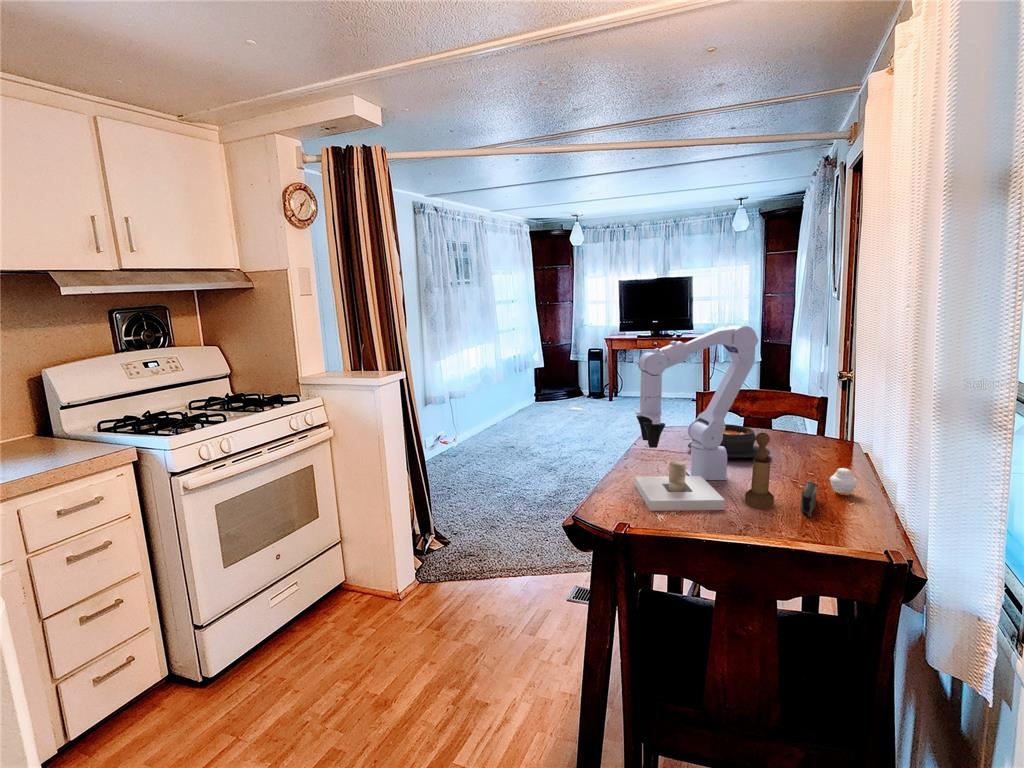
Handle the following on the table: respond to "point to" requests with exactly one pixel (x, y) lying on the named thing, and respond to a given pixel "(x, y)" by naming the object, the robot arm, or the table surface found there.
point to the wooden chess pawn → (760, 477)
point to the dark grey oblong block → (808, 498)
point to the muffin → (843, 481)
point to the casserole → (739, 442)
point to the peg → (677, 476)
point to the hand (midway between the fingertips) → (649, 443)
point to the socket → (678, 494)
